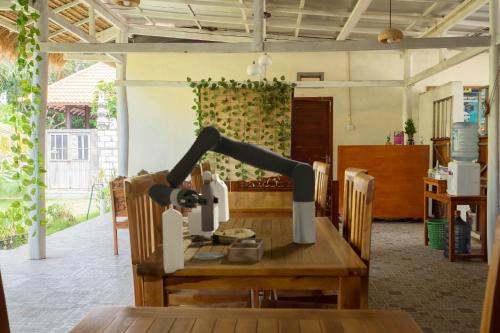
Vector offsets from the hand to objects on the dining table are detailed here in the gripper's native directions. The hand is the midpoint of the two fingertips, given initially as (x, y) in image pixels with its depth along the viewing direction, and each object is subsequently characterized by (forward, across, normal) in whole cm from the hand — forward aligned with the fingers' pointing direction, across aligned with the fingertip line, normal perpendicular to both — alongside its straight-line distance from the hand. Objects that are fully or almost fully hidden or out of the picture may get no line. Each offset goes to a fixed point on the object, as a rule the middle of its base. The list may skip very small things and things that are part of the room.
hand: (211, 201), depth 166 cm
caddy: (+8, +10, +21) cm, 24 cm away
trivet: (-2, 0, +21) cm, 21 cm away
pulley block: (-20, +24, +22) cm, 38 cm away
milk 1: (+2, -18, +21) cm, 28 cm away
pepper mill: (-3, 0, +11) cm, 11 cm away
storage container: (-49, +35, +22) cm, 64 cm away
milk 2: (-70, +61, +22) cm, 95 cm away
